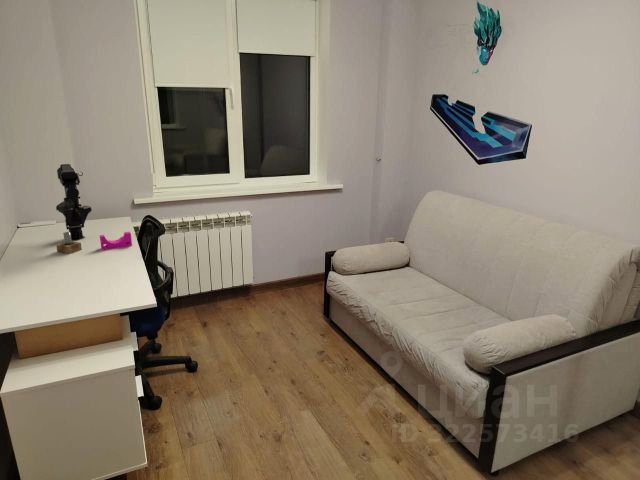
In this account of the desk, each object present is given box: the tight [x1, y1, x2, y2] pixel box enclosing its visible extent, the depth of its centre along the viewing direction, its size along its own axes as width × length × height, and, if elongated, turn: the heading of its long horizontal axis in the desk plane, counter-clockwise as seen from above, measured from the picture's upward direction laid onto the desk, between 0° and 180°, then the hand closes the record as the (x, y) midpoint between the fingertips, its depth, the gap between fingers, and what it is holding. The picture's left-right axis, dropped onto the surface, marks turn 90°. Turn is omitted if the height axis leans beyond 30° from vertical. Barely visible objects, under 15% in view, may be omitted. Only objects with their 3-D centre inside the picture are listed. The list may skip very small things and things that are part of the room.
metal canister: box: [63, 231, 73, 245], centre depth 232 cm, size 3×3×10 cm
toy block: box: [99, 231, 133, 251], centre depth 242 cm, size 15×6×8 cm, turn 123°
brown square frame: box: [55, 241, 83, 255], centre depth 233 cm, size 8×8×4 cm
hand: (76, 224), depth 237 cm, fingers open, 9 cm apart
